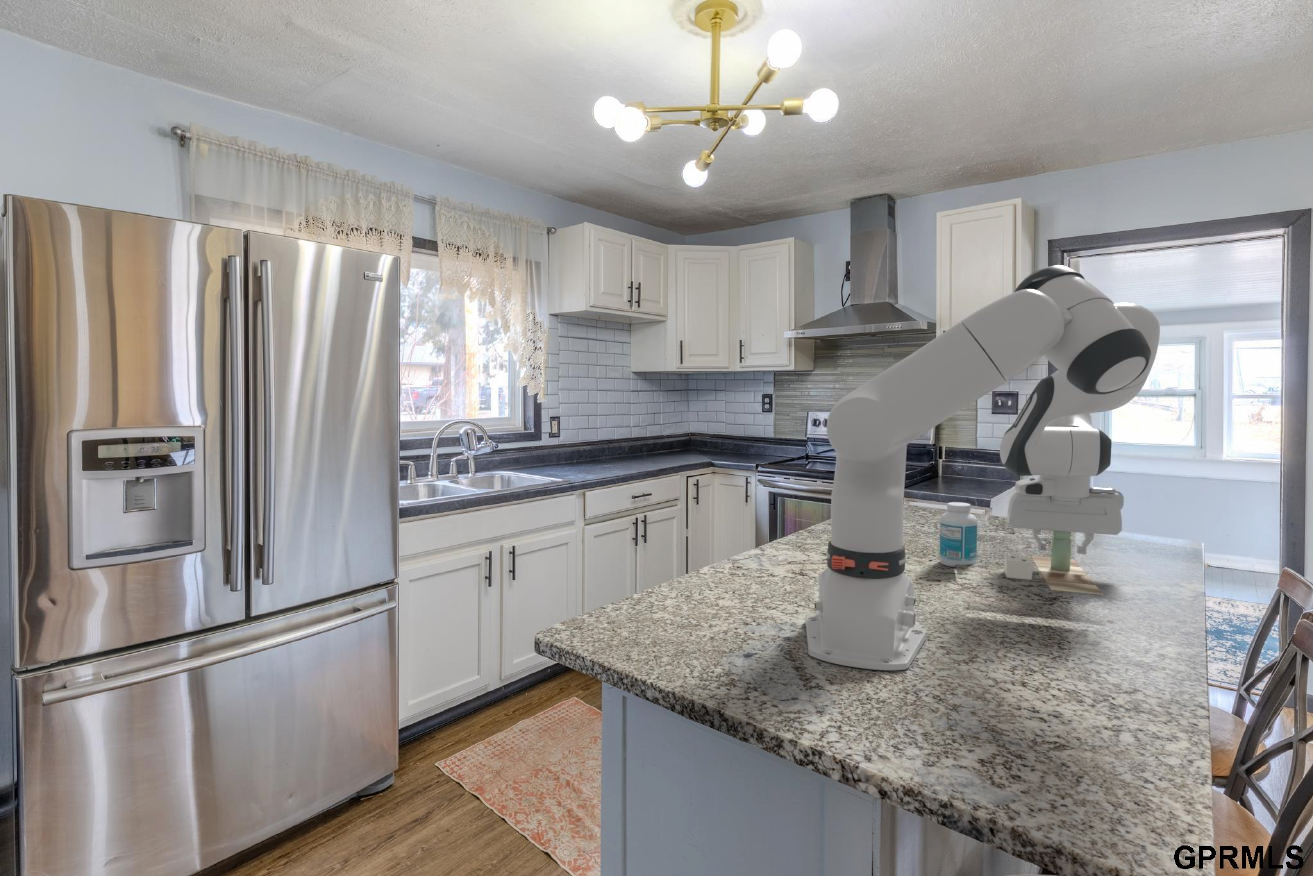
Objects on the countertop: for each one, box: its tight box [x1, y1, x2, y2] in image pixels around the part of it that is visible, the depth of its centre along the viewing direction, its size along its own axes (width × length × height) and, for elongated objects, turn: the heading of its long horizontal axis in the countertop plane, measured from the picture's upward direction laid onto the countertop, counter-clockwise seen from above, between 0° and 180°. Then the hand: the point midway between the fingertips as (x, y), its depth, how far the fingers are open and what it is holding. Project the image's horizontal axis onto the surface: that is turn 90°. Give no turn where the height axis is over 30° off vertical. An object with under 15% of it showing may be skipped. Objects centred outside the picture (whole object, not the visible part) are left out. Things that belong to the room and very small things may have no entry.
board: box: [1028, 555, 1104, 596], centre depth 134 cm, size 26×9×1 cm, turn 158°
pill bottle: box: [939, 501, 978, 569], centre depth 144 cm, size 8×7×14 cm
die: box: [1003, 554, 1034, 581], centre depth 133 cm, size 4×4×5 cm
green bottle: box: [1050, 531, 1072, 571], centre depth 137 cm, size 3×3×9 cm
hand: (1061, 552), depth 137 cm, fingers open, 6 cm apart
